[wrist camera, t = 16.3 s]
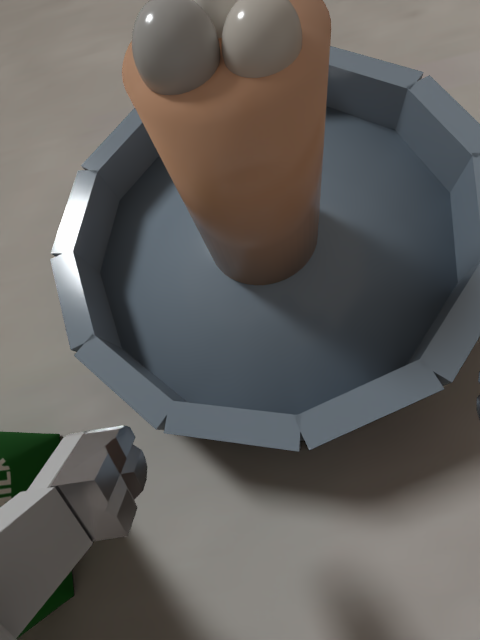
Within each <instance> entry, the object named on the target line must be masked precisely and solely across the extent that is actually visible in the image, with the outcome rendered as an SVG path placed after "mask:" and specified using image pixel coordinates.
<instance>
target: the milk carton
mask: <svg viewBox="0 0 480 640" xmlns="http://www.w3.org/2000/svg"><path fill="white" fill-rule="evenodd" d="M59 443H60V435H59V434H41V433H19V432H0V507H1V506H3V505H4V504H5V503H7V502H8V501H9V500H11V499H12V498H13V497H14V496H16V495H17V494H18V493H20V492H23V491H27V490H28V488H29V487H30V485H31V484H32V482H33V481H34V480H35V478H36V477H37V475H38V474H39V472H40V471H41V469H42V468H43V467H44V465H45V464H46V462H47V461H48V459H49V458H50V456H51V455H52V454H53V452H54V451H55V449H56V448H57V446H58V445H59ZM73 596H74V588H73V577H72V570H71V571H70V573H69V574H68V575H67V576H66V578H65V579H64V580H63V581H62V583H61V584H60V585H59V586H58V588H57V589H56V590H55V591H54V593H53V594H52V595H51V596H50V597H49V599H48V600H47V601H46V602H45V604H44V605H43V606H42V607H41V609H40V610H39V611H38V612H37V614H36V615H35V616H34V617H33V618H32V620H31V621H30V622H29V623H28V625H27V626H26V627H25V628H24V630H23V631H22V632H21V633H20V635H19V636H18V637H17V638H19V637H20V636H21V635H23V634H24V633H25V632H27V631H28V630H29V629H31V628H32V627H33V626H34V625H36V624H37V623H38V622H40V621H41V620H42V619H44V618H45V617H46V616H47V615H49V614H50V613H51V612H53V611H54V610H55V609H57V608H58V607H59V606H61V605H62V604H63V603H65V602H66V601H67V600H69V599H70V598H71V597H73ZM17 638H16V639H17Z"/></svg>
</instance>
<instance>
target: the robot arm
mask: <svg viewBox="0 0 480 640" xmlns="http://www.w3.org/2000/svg"><path fill="white" fill-rule="evenodd" d="M478 382H479V383H480V371H479V379H478ZM477 413H478V416H479V420H480V395H479V396H478V397H477ZM134 440H135V436H134V434H133V432H132V430H131V428H130V427H128V426H125V425H124V426H117V427H110V428H103V429H96V430H89V431H84V432H78V433H71V434H69V435H67V436H65V437H64V438H63V439H62V440H61V442H60V443H59V445H58V446H57V448H56V449H55V451H54V452H53V454H52V455H51V456H50V458H49V459H48V461H47V462H46V464H45V465H44V467H43V468H42V469H41V471H40V472H39V474H38V475H37V477H36V478H35V480H34V481H33V482H32V484H31V485H30V487H29V488H28V490H27V491H23V492H20V493H18V494H17V495H16V496H14V497H13V498H12V499H11V500H9V501H8V502H7V503H5V504H4V505H3V506H1V507H0V640H17V639H16V638H17V637H18V636H19V635H20V633H21V632H22V631H23V630H24V628H25V627H26V626H27V625H28V623H29V622H30V621H31V620H32V618H33V617H34V616H35V615H36V614H37V612H38V611H39V610H40V609H41V607H42V606H43V605H44V604H45V602H46V601H47V600H48V599H49V597H50V596H51V595H52V594H53V593H54V591H55V590H56V589H57V588H58V586H59V585H60V584H61V583H62V581H63V580H64V579H65V578H66V576H67V575H68V574H69V573H70V571H71V570H72V569H73V568H74V567H75V565H76V564H77V563H78V562H79V560H80V559H81V558H82V557H83V555H84V554H85V553H86V552H87V550H88V549H89V548H90V547H91V546H92V544H93V543H92V542H93V541H99V540H106V539H112V538H119V537H125V536H128V535H129V532H130V529H131V526H132V523H133V520H134V517H135V514H136V511H137V505H136V503H135V500H134V499H135V498H136V497H137V496H138V495H139V494H140V493H141V492H142V491H143V489H144V486H145V483H146V480H147V464H146V459H145V456H144V454H143V452H142V450H141V449H139V448H137V447H136V446H134V445H133V442H134Z"/></svg>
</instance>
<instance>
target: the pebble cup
mask: <svg viewBox="0 0 480 640" xmlns="http://www.w3.org/2000/svg"><path fill="white" fill-rule="evenodd" d="M330 39H331V19H330V15H329V11H328V9H327V7H326V5H325V3H324V2H323V0H149V1H148V2H147V3H146V4H145V5H144V6H143V8H142V9H141V10H140V12H139V14H138V16H137V18H136V20H135V23H134V27H133V32H132V41H131V43H130V44H129V46H128V49H127V51H126V54H125V57H124V61H123V67H122V77H123V83H124V86H125V90H126V91H127V93H128V95H129V97H130V99H131V101H132V103H133V105H134V107H135V109H136V111H137V113H138V115H139V117H140V119H141V121H142V122H143V124H144V126H145V128H146V130H147V132H148V134H149V136H150V138H151V140H152V142H153V144H154V146H155V148H156V150H157V152H158V154H159V155H160V157H161V159H162V161H163V163H164V165H165V167H166V169H167V171H168V173H169V175H170V177H171V179H172V181H173V183H174V185H175V186H176V188H177V190H178V192H179V194H180V196H181V198H182V200H183V202H184V204H185V206H186V208H187V210H188V212H189V214H190V216H191V218H192V219H193V221H194V223H195V225H196V227H197V229H198V231H199V233H200V235H201V237H202V239H203V241H204V243H205V245H206V247H207V249H208V251H209V252H210V254H211V256H212V258H213V260H214V262H215V264H216V265H217V267H218V268H219V269H220V270H221V271H222V272H223V273H224V274H225V275H227V276H228V277H230V278H231V279H233V280H235V281H238V282H241V283H244V284H249V285H268V284H273V283H277V282H280V281H283V280H285V279H287V278H289V277H291V276H293V275H294V274H295V273H297V272H298V271H299V270H300V269H302V268H303V267H304V266H305V265H306V263H307V262H308V261H309V259H310V258H311V256H312V255H313V253H314V250H315V248H316V245H317V240H318V229H319V213H320V197H321V181H322V165H323V150H324V134H325V118H326V102H327V86H328V71H329V55H330Z"/></svg>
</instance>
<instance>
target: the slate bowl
mask: <svg viewBox="0 0 480 640" xmlns="http://www.w3.org/2000/svg"><path fill="white" fill-rule="evenodd" d="M422 76H423V72H421V71H418V70H414V69H411V68H407V67H404V66H400V65H396V64H393V63H389V62H386V61H382V60H379V59H375V58H371V57H368V56H364V55H361V54H357V53H354V52H350V51H346V50H343V49H339V48H336V47H332V46H330V55H329V71H328V86H327V102H326V118H325V134H324V150H323V165H322V181H321V197H320V213H319V229H318V240H317V245H316V248H315V250H314V253H313V255H312V256H311V258H310V259H309V261H308V262H307V263H306V265H305V266H304V267H303V268H302V269H300V270H299V271H298V272H297V273H295V274H294V275H293V276H291V277H289V278H287V279H285V280H283V281H280V282H277V283H273V284H268V285H249V284H244V283H241V282H238V281H235V280H233V279H231V278H230V277H228V276H227V275H225V274H224V273H223V272H222V271H221V270H220V269H219V268H218V267H217V265H216V264H215V262H214V260H213V258H212V256H211V254H210V252H209V251H208V249H207V247H206V245H205V243H204V241H203V239H202V237H201V235H200V233H199V231H198V229H197V227H196V225H195V223H194V221H193V219H192V218H191V216H190V214H189V212H188V210H187V208H186V206H185V204H184V202H183V200H182V198H181V196H180V194H179V192H178V190H177V188H176V186H175V185H174V183H173V181H172V179H171V177H170V175H169V173H168V171H167V169H166V167H165V165H164V163H163V161H162V159H161V157H160V155H159V154H158V152H157V150H156V148H155V146H154V144H153V142H152V140H151V138H150V136H149V134H148V132H147V130H146V128H145V126H144V124H143V122H142V121H141V119H140V117H139V115H138V113H137V111H136V109H135V108H134V109H133V110H132V111H131V112H130V113H129V114H128V116H127V117H126V118H125V119H124V120H123V121H122V122H121V123H120V124H119V125H118V126H117V127H116V128H115V130H114V131H113V132H112V133H111V134H110V135H109V136H108V137H107V138H106V139H105V140H104V141H103V143H102V144H101V145H100V146H99V147H98V148H97V149H96V150H95V151H94V152H93V153H92V154H91V155H90V157H89V158H88V159H87V160H86V161H85V162H84V163H83V164H82V165H81V166H82V167H83V168H84V170H81V171H78V172H77V175H76V178H75V181H74V184H73V187H72V190H71V193H70V196H69V199H68V202H67V205H66V209H65V212H64V215H63V218H62V221H61V224H60V227H59V230H58V233H57V236H56V239H55V242H54V245H53V248H52V251H51V254H53V255H54V256H55V257H54V258H52V259H50V260H51V265H52V269H53V274H54V278H55V282H56V287H57V291H58V296H59V300H60V305H61V309H62V314H63V318H64V323H65V327H66V332H67V336H68V340H69V345H70V349H71V350H73V351H76V352H77V353H76V354H75V355H74V356H75V357H76V358H77V359H78V360H79V361H80V362H82V363H83V364H84V365H85V366H86V367H87V368H88V369H89V370H90V371H92V372H93V373H94V374H95V375H96V376H97V377H98V378H99V379H100V380H102V381H103V382H104V383H105V384H106V385H107V386H108V387H109V388H110V389H112V390H113V391H114V392H115V393H116V394H117V395H118V396H119V397H120V398H122V399H123V400H124V401H125V402H126V403H127V404H128V405H129V406H130V407H132V408H133V409H134V410H135V411H136V412H137V413H138V414H139V415H140V416H142V417H143V418H144V419H145V420H146V421H147V422H148V423H149V424H150V425H152V426H153V427H154V428H155V429H158V430H164V433H167V434H174V435H182V436H189V437H196V438H203V439H211V440H218V441H225V442H233V443H240V444H247V445H254V446H262V447H269V448H276V449H284V450H291V451H298V452H299V451H300V448H301V441H303V440H305V442H306V444H307V447H308V449H309V450H311V449H313V448H315V447H317V446H320V445H322V444H324V443H326V442H328V441H331V440H333V439H335V438H337V437H339V436H342V435H344V434H346V433H348V432H351V431H353V430H355V429H357V428H359V427H362V426H364V425H366V424H368V423H370V422H373V421H375V420H377V419H379V418H381V417H384V416H386V415H388V414H390V413H393V412H395V411H397V410H399V409H401V408H404V407H406V406H408V405H410V404H412V403H415V402H417V401H419V400H421V399H423V398H426V397H428V396H430V395H432V394H435V393H437V392H439V391H441V390H443V389H444V387H443V385H446V384H449V383H452V382H453V380H454V378H455V377H456V375H457V373H458V372H459V370H460V368H461V367H462V365H463V363H464V362H465V360H466V358H467V357H468V355H469V353H470V352H471V350H472V348H473V347H474V345H475V343H476V342H477V340H478V338H479V337H480V124H479V123H478V122H477V121H476V120H475V119H474V118H473V117H472V116H471V115H470V114H469V113H468V112H467V111H466V110H465V109H464V108H463V107H462V106H461V105H460V104H459V103H458V102H457V101H456V100H454V99H453V98H452V97H451V96H450V95H449V94H448V93H447V92H446V91H445V90H444V89H443V88H442V87H441V86H440V85H439V84H438V83H437V82H436V81H435V80H434V79H433V78H432V77H431V76H430V75H429V76H427V77H425V78H423V79H422Z"/></svg>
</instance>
